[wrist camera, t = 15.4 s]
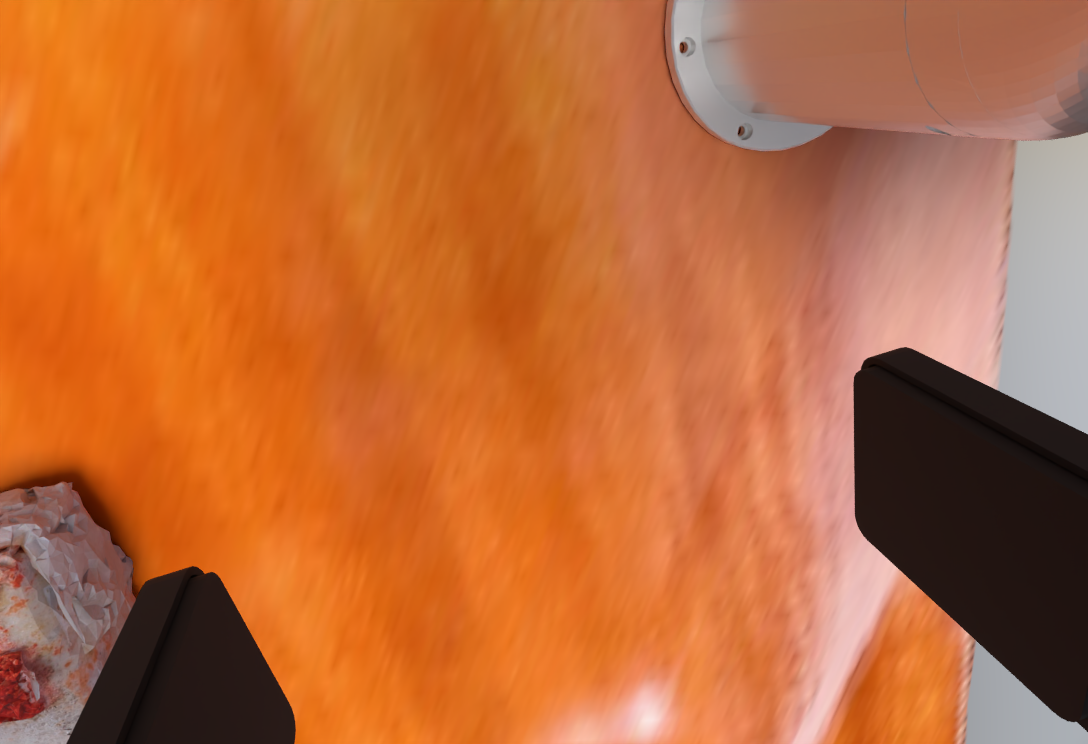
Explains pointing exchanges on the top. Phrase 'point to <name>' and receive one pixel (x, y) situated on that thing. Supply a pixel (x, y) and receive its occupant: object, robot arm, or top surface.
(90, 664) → the food item
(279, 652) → the top surface
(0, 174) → the top surface
